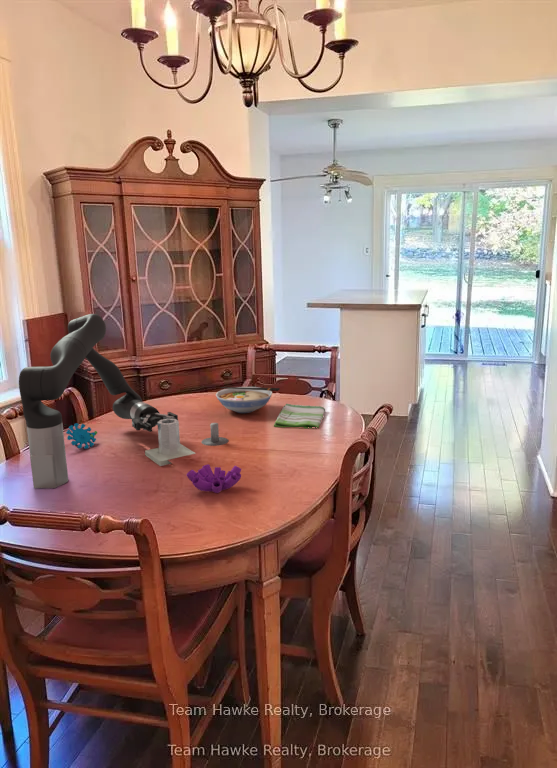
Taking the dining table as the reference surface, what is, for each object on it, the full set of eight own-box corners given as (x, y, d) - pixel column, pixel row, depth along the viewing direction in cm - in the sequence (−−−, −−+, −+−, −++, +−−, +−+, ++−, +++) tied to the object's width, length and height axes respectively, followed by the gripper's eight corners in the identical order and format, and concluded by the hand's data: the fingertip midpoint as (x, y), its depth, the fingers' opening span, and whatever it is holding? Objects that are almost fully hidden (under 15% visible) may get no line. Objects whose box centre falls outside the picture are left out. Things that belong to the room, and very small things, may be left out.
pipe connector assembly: (239, 506, 155) (233, 488, 148) (186, 502, 158) (177, 484, 150) (247, 469, 162) (241, 450, 155) (195, 466, 165) (187, 448, 158)
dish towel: (326, 412, 231) (326, 404, 230) (319, 430, 209) (319, 420, 208) (283, 411, 234) (283, 403, 233) (272, 428, 212) (272, 419, 211)
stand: (227, 449, 189) (226, 427, 187) (199, 450, 189) (198, 428, 187) (230, 441, 197) (229, 419, 196) (203, 441, 197) (202, 420, 196)
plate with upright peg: (160, 466, 175) (158, 441, 174) (145, 455, 185) (143, 431, 183) (196, 457, 182) (195, 434, 180) (179, 447, 192) (178, 424, 190)
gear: (74, 448, 187) (63, 423, 191) (67, 458, 190) (56, 433, 194) (104, 444, 196) (93, 420, 199) (96, 454, 199) (85, 430, 202)
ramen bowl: (204, 416, 226) (203, 396, 225) (225, 402, 248) (224, 383, 246) (266, 420, 220) (265, 400, 218) (282, 405, 241) (281, 386, 239)
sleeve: (164, 456, 179) (162, 425, 177) (157, 451, 184) (155, 421, 182) (182, 452, 182) (181, 422, 180) (174, 447, 187) (172, 417, 185)
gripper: (123, 407, 193) (141, 418, 180) (163, 400, 201) (183, 411, 188) (125, 429, 195) (143, 441, 182) (164, 421, 202) (185, 433, 189)
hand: (163, 426), depth 185 cm, fingers open, 8 cm apart
